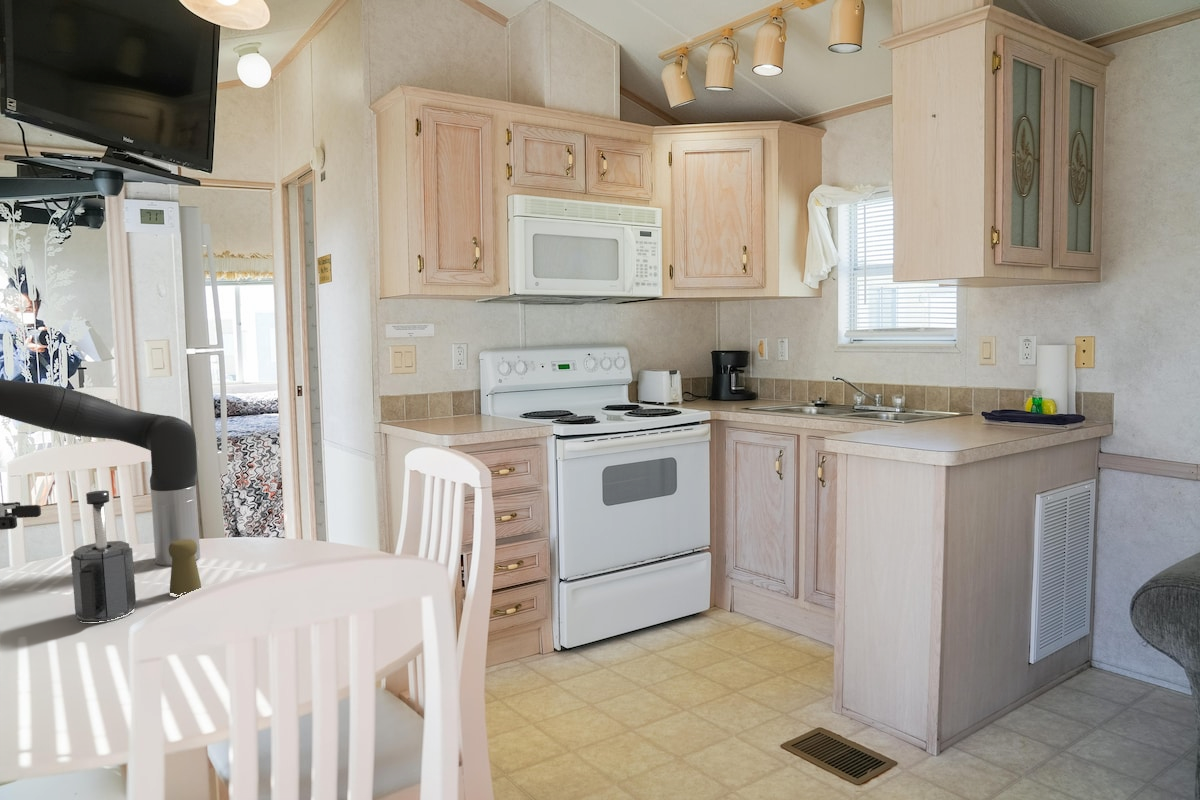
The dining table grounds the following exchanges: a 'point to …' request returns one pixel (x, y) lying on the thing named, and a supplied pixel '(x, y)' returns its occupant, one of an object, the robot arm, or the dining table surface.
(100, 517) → the plunger
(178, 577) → the cork
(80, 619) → the coffee press
